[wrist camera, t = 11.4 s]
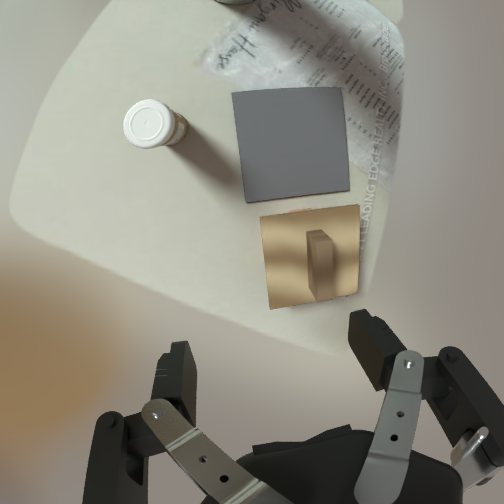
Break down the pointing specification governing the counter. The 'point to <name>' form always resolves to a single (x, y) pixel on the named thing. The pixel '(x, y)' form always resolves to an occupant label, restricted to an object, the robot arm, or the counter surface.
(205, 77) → the counter surface
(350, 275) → the board
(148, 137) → the sprinkles bottle
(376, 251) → the counter surface
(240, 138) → the rubber mat
